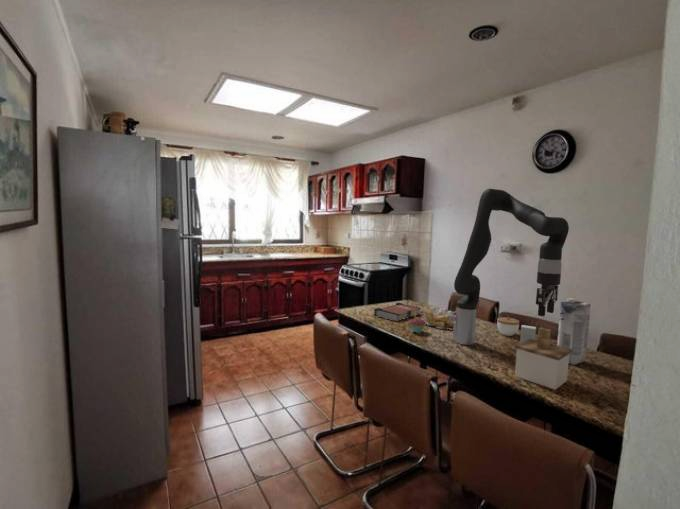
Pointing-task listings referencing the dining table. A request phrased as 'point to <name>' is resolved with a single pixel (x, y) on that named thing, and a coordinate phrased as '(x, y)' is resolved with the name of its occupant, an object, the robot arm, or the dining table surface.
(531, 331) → the skincare box
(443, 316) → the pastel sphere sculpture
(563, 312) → the juice carton
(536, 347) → the lid
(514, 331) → the lidded jar
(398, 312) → the book
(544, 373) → the storage box
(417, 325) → the cupcake
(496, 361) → the dining table surface
